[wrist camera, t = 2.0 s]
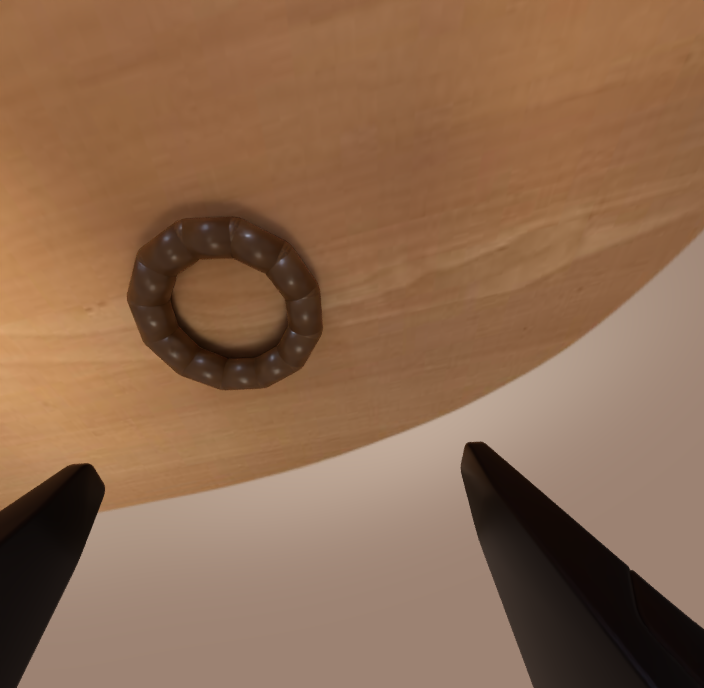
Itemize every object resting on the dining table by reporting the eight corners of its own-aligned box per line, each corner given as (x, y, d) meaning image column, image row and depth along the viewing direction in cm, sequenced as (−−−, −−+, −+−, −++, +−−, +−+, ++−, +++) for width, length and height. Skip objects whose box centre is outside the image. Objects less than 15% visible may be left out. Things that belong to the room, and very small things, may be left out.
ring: (315, 211, 14) (314, 218, 13) (326, 373, 19) (326, 391, 17) (111, 217, 14) (87, 225, 13) (170, 380, 18) (158, 400, 17)
